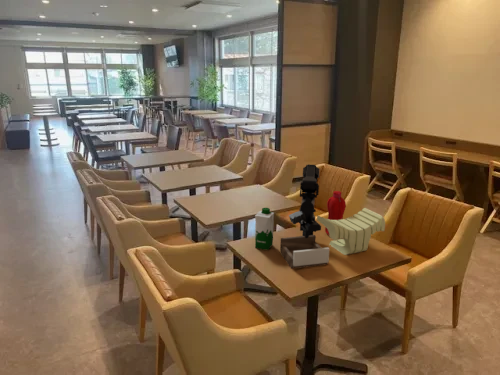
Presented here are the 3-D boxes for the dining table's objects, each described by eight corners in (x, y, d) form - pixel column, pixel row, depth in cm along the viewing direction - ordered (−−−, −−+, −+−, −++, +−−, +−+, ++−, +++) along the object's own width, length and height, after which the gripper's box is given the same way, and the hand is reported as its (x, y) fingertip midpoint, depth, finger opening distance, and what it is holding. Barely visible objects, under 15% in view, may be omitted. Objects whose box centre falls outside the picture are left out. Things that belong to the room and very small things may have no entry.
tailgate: (292, 264, 174) (293, 250, 172) (327, 261, 177) (328, 247, 176) (293, 266, 172) (294, 252, 170) (328, 262, 176) (329, 248, 174)
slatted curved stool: (333, 260, 183) (336, 226, 178) (315, 247, 197) (317, 215, 192) (382, 249, 194) (386, 217, 189) (361, 238, 208) (364, 207, 203)
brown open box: (280, 252, 190) (280, 238, 188) (313, 249, 194) (314, 234, 192) (291, 268, 174) (292, 252, 172) (327, 264, 178) (328, 248, 176)
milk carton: (274, 244, 199) (275, 208, 194) (268, 251, 191) (269, 214, 186) (259, 241, 203) (259, 206, 197) (252, 248, 195) (253, 211, 189)
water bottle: (331, 239, 206) (334, 195, 199) (323, 231, 216) (325, 189, 209) (347, 237, 208) (350, 194, 201) (337, 230, 218) (341, 188, 211)
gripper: (284, 201, 181) (283, 231, 185) (298, 214, 163) (297, 247, 168) (306, 199, 183) (305, 229, 188) (322, 212, 166) (320, 245, 170)
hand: (306, 237), depth 178 cm, fingers closed
